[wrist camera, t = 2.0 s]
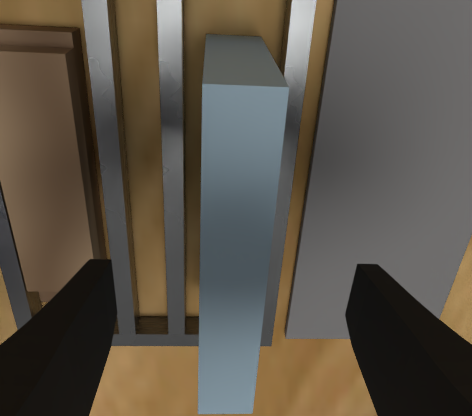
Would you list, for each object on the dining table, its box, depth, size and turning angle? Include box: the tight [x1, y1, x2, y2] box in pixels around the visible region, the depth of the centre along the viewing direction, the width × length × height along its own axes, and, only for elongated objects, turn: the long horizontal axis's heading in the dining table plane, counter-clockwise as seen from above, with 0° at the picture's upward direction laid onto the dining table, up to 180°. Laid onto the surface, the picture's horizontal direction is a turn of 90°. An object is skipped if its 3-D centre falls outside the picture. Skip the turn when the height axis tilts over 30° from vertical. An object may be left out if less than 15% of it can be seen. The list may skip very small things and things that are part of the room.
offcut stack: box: [0, 24, 107, 302], centre depth 18 cm, size 3×12×2 cm, turn 177°
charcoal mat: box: [285, 0, 472, 339], centre depth 19 cm, size 8×18×1 cm, turn 177°
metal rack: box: [0, 0, 316, 346], centre depth 18 cm, size 12×17×1 cm
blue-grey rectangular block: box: [198, 34, 289, 414], centre depth 16 cm, size 2×12×7 cm, turn 177°
